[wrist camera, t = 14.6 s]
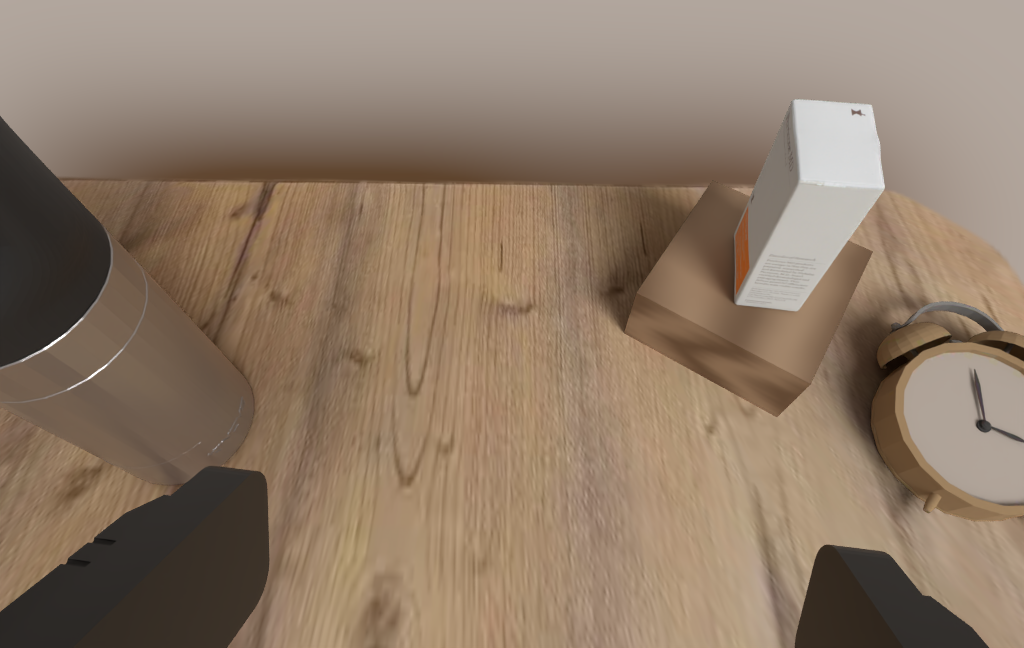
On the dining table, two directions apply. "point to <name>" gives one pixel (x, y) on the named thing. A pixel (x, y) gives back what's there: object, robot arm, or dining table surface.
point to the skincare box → (806, 202)
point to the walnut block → (737, 310)
